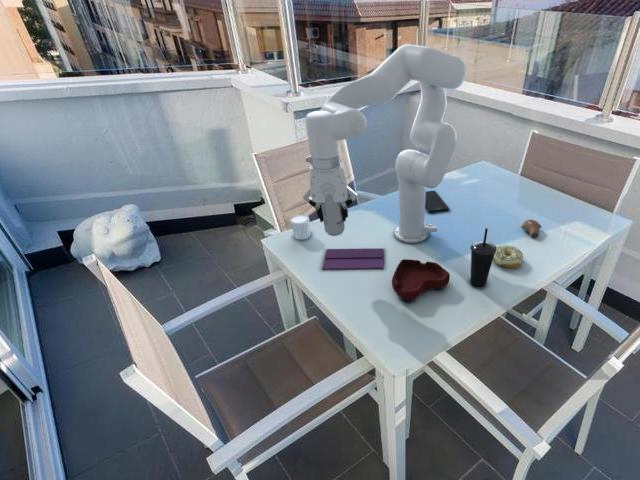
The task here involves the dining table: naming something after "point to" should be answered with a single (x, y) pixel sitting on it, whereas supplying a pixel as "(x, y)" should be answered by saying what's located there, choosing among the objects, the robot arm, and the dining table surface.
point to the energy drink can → (332, 216)
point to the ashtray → (418, 278)
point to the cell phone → (434, 202)
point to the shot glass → (300, 226)
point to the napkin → (353, 259)
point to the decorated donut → (508, 256)
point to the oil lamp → (531, 227)
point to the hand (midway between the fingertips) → (333, 219)
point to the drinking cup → (481, 261)
